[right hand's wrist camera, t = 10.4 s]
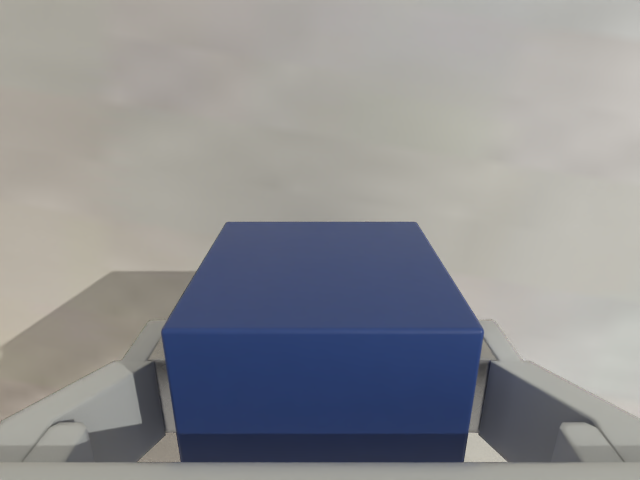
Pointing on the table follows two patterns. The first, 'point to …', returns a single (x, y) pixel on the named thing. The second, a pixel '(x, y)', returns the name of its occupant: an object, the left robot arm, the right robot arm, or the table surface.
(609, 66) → the table surface
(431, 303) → the block
